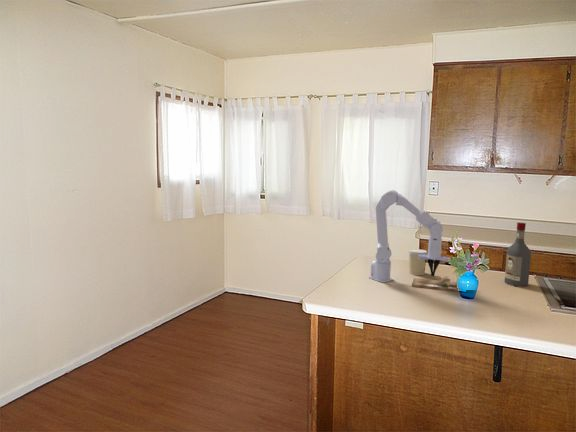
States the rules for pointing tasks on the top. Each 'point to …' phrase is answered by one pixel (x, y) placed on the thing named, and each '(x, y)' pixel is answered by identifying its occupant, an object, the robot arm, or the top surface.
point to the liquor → (518, 260)
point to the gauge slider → (445, 280)
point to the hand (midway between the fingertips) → (432, 275)
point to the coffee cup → (416, 262)
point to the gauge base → (434, 284)
